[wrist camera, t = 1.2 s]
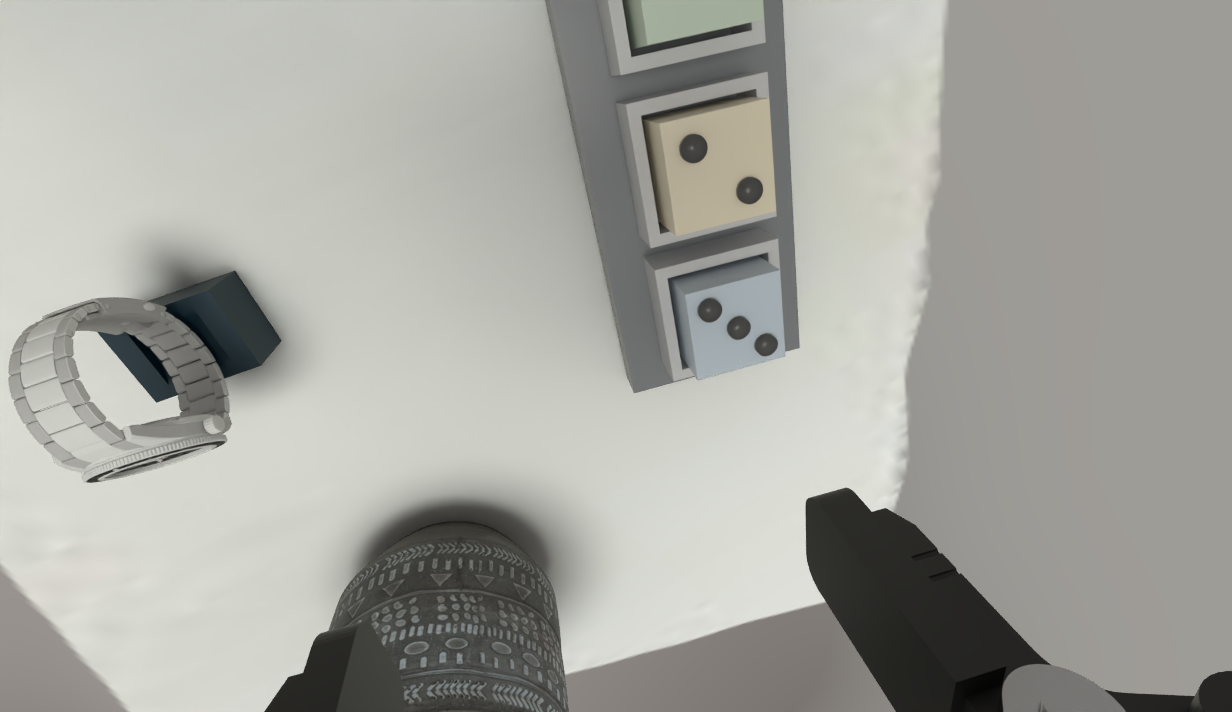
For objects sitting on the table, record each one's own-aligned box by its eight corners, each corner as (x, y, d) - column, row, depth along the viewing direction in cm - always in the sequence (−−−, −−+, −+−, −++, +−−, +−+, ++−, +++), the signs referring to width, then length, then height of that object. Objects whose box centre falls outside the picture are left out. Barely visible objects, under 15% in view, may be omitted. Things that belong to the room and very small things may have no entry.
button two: (640, 119, 27) (661, 124, 24) (738, 96, 27) (772, 98, 24) (657, 220, 29) (678, 237, 26) (747, 197, 30) (779, 212, 26)
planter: (579, 594, 44) (615, 810, 31) (413, 665, 44) (378, 911, 31) (501, 464, 38) (505, 668, 24) (305, 547, 38) (203, 797, 24)
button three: (666, 273, 31) (686, 296, 27) (751, 251, 31) (782, 271, 28) (678, 352, 33) (699, 383, 30) (758, 331, 33) (787, 358, 30)
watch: (208, 402, 32) (83, 540, 22) (109, 275, 28) (-94, 375, 19) (302, 369, 32) (218, 491, 23) (215, 238, 29) (70, 318, 19)
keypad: (518, -122, 25) (522, -162, 21) (754, -168, 26) (801, -215, 22) (627, 378, 37) (643, 414, 33) (785, 335, 38) (819, 365, 34)
